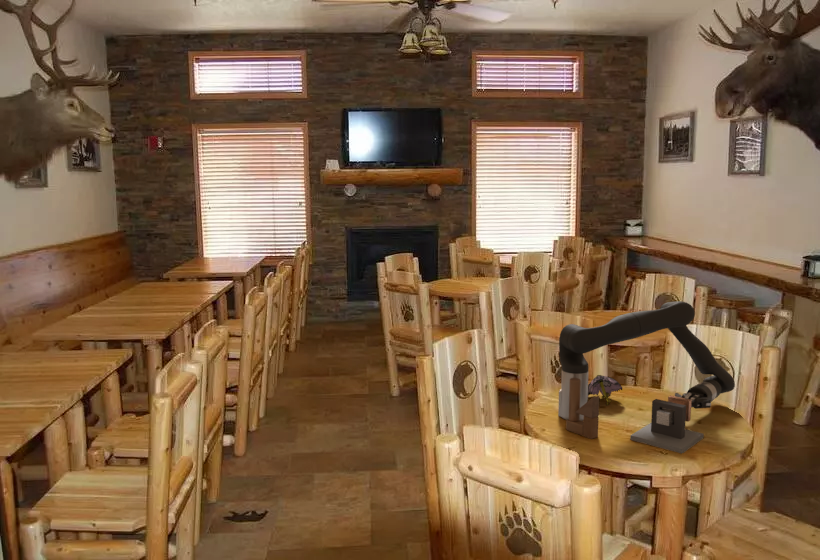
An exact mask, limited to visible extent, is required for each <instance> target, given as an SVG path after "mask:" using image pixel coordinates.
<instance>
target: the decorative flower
mask: <svg viewBox="0 0 820 560" xmlns="http://www.w3.org/2000/svg"><path fill="white" fill-rule="evenodd" d="M620 390H621V391H623V386H622V384H620V383H619V382H618V380H616V379H615V378H612V377H611V376H610V377H609V376H606V375H602V374H597V375H596V377H594V378H593V379H592V380H591V382H589V383H588V397H589V396H590V395H591V396H594V395H596V396H599V394H601V399H605V400H606V403H605V404H606V406H609V405H610V403H611V402H612V400H611V399H610V398H609V397H610V396H612V394H611V393H612V392H618V391H620Z"/></svg>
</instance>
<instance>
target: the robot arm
mask: <svg viewBox="0 0 820 560" xmlns="http://www.w3.org/2000/svg"><path fill="white" fill-rule="evenodd" d="M660 306H661V307H659V309H649V310H640V311H638V310H637V311H634V312H633V311H632V312H628V313H624V314H620V315H617V316H615V317H613V318H612V319H610V320H609V321H608V322H606V323H605V324H603V325H599V326H593V327H582V326H581V325H578V324H575V323H569V324H567V325H565V326H564V327H563V328H562V329H561V331H560V333H559V338H558V340H559V342H558V347H559V349H558V350H559V351H558V352H559V353H558V354H559V362H560V364H561V379H560V380H561V384H560V385H561V386H560V387H561V388H560V389H559V390H558V409H557V410H558V412H557V413H558V415H557V416H558V417H561V418H562V419H563V420H565V421H566V420H568V419H569V384H570V379H571V378H578V379H580V380H581V384H580V408H581V407H582V406H583V405H584V404H585V403H587V402H588V401H589V396H588V385H589V369H590V367H589V363H588V361H587V360H586V358H585V356H584V354H587V353H590V352H591V351H594V350H597V349H600V348H601V347H606V346H608V345H613V344H616V343H620V342H624V341H630V340H633V339H638V338H640V337H644V336H646V335H650V334H653V333H656V332H659V331H661V330H665V329H668V330H669V332H670V333H671V334H672V335H673V336H674V337H675V338H676V341H678V342H679V343H680V344H681V346H682V347H683V348H684V350H686V353H687V354H688V356H689V357H690V358H691V361H692V362H693V363H694V365H695V366H696V369H697V370H698V371H699V372H700V373H701V374H702V375H710V376H708V377H705V378H703V380H702V382H699V383H697V384H695V385H693V386H692V387H690V388H689V389H688V390H687V391H686V392H685V393H683V394H681V393H678V392H675V393H674V396H676V397H681V398H686V399H690V400H692V401H691V409H692V408H693V409H711V406H712V402H713V401H714V400H716V398H719V396H720V395H722V394H725V393H729V392H731V391H734V389H735V387H736V384H735V383H736V382H735V380H734V377H733V376H732V374H731V373H729V372H728V371H727V370H726V369H725V368H724V367H723V366H722V365H721V364H720V363H719V362H718V361H717V360H716V358H715V357H714V355H713V353H712V351H711V350H710V348H709V347H708V346H707V345H706V344H705V342H703V341H701V340H700V338H698V337H697V336H696V335H695V334H694V333H693V332H692V330H690V329H689V327H688V325H689V324H691V323H692V321H694V318H695V315H696V312H695V309H694V307H693V306H692V304H690V303H688V302H687V301H681V300H679V301H678V300H677V301H668V302H665V303H663V304H662V305H660ZM580 420H581V421H583V422H584V415H581V414H580Z"/></svg>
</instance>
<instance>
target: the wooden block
mask: <svg viewBox="0 0 820 560" xmlns="http://www.w3.org/2000/svg"><path fill="white" fill-rule="evenodd" d="M580 384H581V380H580V379H578V378H571V379H570V384H569V419H568V420H566V419H565V422H566V423H565V429H566V430H567V431H569V432H571V433H575V434H577V435H579V436H583V437H584V438H587V439H589V440H590V439H591V440H593V439H596V438H598V437H599V419H600V418H599V415H600V413H599V412H600V395H596V396H593V397H592V398H590V399H588V402H587V403H585V404H584V405H583V406H582V407H581V408H580ZM580 414H581V415H584V420H583V421H581V420H580Z"/></svg>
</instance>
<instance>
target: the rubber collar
mask: <svg viewBox="0 0 820 560" xmlns="http://www.w3.org/2000/svg"><path fill="white" fill-rule="evenodd" d="M651 402H652V403H651V418H650V419H651V422H650V423H651V432H655V433H659V434H663V435H666V436H670V437H674V438H678V439H682V438H684V437H685V429H686V422H687V421H686V405H682V404H677V403H673V402H668V400H662V399H658V398H654V399H653V400H651ZM661 408H666V409H670V410H675V415H674V423H673V424H671V425H670V426H666V425H662V424H658V423H656V422H657V411H658V410H660V409H661Z"/></svg>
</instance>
